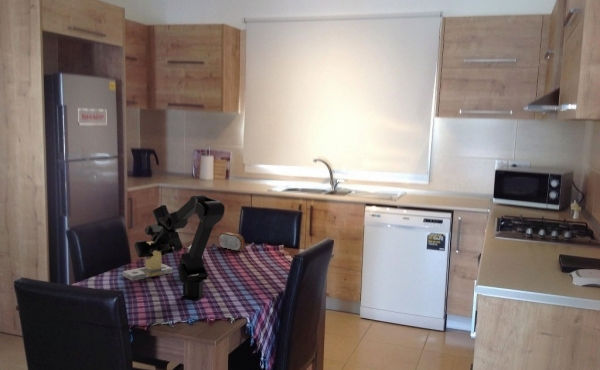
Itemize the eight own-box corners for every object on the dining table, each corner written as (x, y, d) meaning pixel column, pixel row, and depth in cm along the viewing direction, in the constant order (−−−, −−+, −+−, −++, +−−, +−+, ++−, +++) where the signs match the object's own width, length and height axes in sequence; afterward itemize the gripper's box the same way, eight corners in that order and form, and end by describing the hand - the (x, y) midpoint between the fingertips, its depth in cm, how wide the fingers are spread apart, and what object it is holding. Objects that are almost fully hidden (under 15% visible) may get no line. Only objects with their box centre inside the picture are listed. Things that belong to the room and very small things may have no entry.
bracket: (173, 272, 220) (173, 268, 219) (132, 280, 207) (132, 275, 207) (163, 268, 225) (163, 263, 225) (122, 276, 213) (122, 270, 213)
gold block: (161, 274, 213) (161, 243, 211) (150, 276, 210) (151, 244, 208) (155, 271, 216) (155, 240, 215) (145, 273, 213) (145, 242, 211)
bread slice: (244, 251, 259) (245, 234, 258) (240, 252, 256) (241, 235, 255) (221, 246, 267) (221, 230, 266) (217, 247, 264) (217, 231, 263)
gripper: (179, 216, 214) (165, 238, 223) (136, 221, 201) (123, 244, 210) (189, 239, 209) (175, 260, 218) (146, 245, 196) (132, 267, 205)
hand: (151, 257), depth 213 cm, fingers closed on gold block, 4 cm apart
